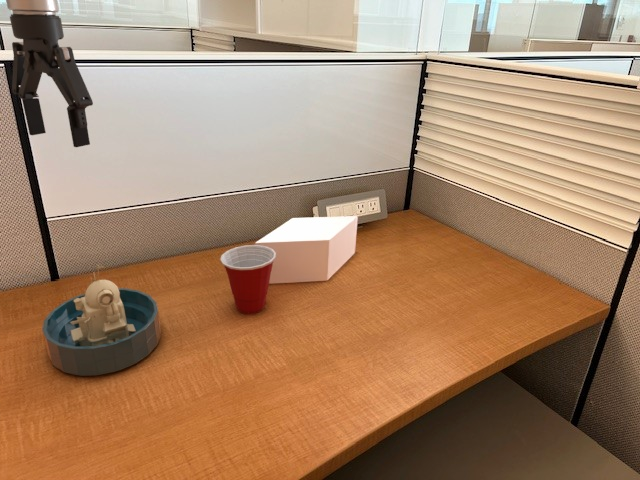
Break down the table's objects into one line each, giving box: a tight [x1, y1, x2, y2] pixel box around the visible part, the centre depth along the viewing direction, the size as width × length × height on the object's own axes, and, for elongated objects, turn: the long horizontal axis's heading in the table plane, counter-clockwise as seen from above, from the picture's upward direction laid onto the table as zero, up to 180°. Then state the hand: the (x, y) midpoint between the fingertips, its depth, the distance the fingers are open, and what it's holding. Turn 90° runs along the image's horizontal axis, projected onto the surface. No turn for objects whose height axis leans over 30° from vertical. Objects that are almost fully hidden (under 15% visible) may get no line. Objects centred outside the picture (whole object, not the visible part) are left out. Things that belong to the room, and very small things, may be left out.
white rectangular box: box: [254, 215, 359, 285], centre depth 112 cm, size 14×29×10 cm, turn 127°
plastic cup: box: [220, 244, 276, 315], centre depth 96 cm, size 11×11×12 cm
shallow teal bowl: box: [41, 287, 162, 377], centre depth 84 cm, size 18×18×6 cm
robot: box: [70, 264, 136, 346], centre depth 82 cm, size 10×8×15 cm
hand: (59, 139), depth 89 cm, fingers open, 13 cm apart
